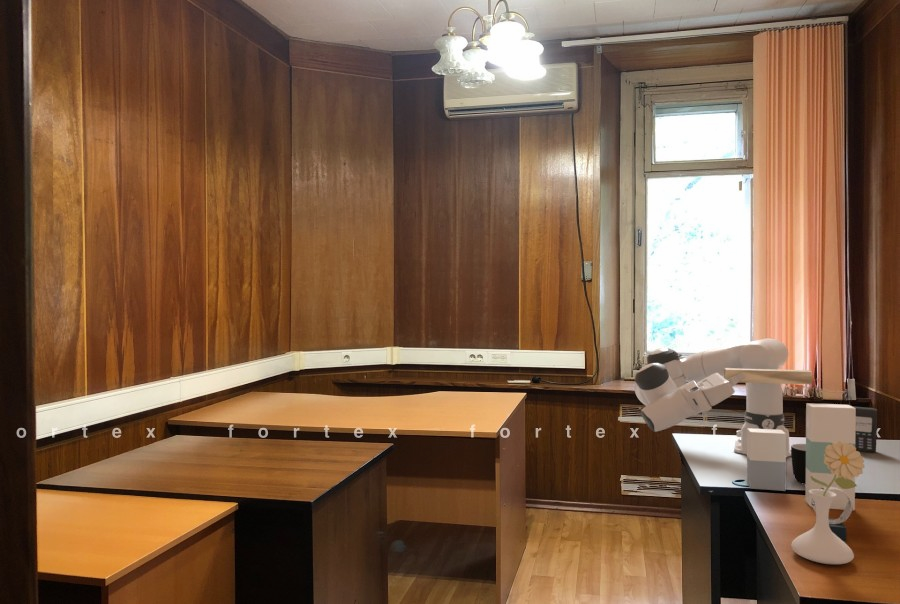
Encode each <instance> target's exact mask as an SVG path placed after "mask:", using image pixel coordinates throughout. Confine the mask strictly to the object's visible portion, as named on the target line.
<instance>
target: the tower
mask: <svg viewBox="0 0 900 604" xmlns="http://www.w3.org/2000/svg"><path fill="white" fill-rule="evenodd" d="M805 404H806V408H805V444H806V484H805V503H807V504H808V505H809V507H810V508H813V506H812V499H813V497H812V496H811V494H810V493H809V490H812V489H820V488H825V487H826V486H823V485H821V484H819V483H816V482H814V481H813V480H812V479H811V476H812V477H813V478H815V479H817V480H819V481H821V482H824V483H826V484H827V485H829V484H830V483H831V481H832V480H833V478H834V476H835V474H832V473H831V469H828V467H827V465H826V464H825V463H824V461H825V459H824V458H825V457H824V454H826V452H825V449H826V446H828V445H832V443H833V442H837V441H838V440H839V441H841V442H843V444H844V442H847V443H848V444H849V445H850V444H852V445H853V446H854V447H855V425H856V408H854V407H855V406H853V407H852V405H850V404H838V403H837V404H836V403H835V404H834V403H808V402H807V403H805ZM838 477H839V476H837V475H836V478H838ZM836 478H835V479H836ZM851 480H852V481H853V482H854V483H855V484H856V476H854V478H853V479H851ZM830 487H836V488H839V489H841V490H843V491H844V492H845V493H846V494H847V495H848V496H849V497H850V498H851V500H852V504H853V510H852V511H856V504H855V503H856V501H855V499H856V498H855V497H856V487H853V488H849V489H843V488H841V487H840V486H839V485H838V484H837V483H836V482H835V480H834V482H833V483H832V484H831V486H830ZM832 492H833V493H835V494H836V497H835V498H834V499H833V500H832V502H831V504H830V508H829V510H843V511H844V510H845V508H846V505H847V502H848V498H847V496H846V495H845V494H843V493H841V492H839V491H832Z"/></svg>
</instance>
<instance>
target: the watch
mask: <svg viewBox="0 0 900 604" xmlns="http://www.w3.org/2000/svg"><path fill="white" fill-rule="evenodd" d="M826 488H827V487H825V488H820V489H821V490H826ZM827 491H831V492H832V491H839V492H841V493H843V494H845V495H846V496H847V498H848V502H847V505H846V508H845V510H843V512H842V513H841V514H840V515H839V517H838V518H830V517H828V522H829V527H830V529H831V531H832V532H833V533H834V534H835V535H836V536H837V537H839V538H840V539H841V540H842V541H843V542H844V543H846V542H847V526H845V524H844V523H845V522H846V521H847V520H848V519H849V517H850V516H851V514H852V512H853V511H854V510H853V504H852V500H851V498H850V497H849V496H848V495H847V494H846V493H845V492H844V491H843V490H841V489H839V488H836V487H829V489H828V490H827ZM812 506H813V507H812V509H813V511H814V513H815V514H816V507H815V502H814V500H813V499H812Z"/></svg>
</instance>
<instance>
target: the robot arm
mask: <svg viewBox="0 0 900 604" xmlns="http://www.w3.org/2000/svg"><path fill="white" fill-rule="evenodd" d="M682 356H683V355H682V353H678V352H677V351H676V350H674V349H672V348H669V347H668V348H665V347H661V348H658V349H654V350H652V352H651V353H649V354H648V355H647V357H646V363H647V364H645V365H644V366H643V367H641V368H640V369H639V370H638V372H636V374H635V377H634V382H635V383H634V392H635V395H636V397H637V399H638V400H639V401H640V403H642V404H643V405H644V407H643V408H642V409H641V410H640V411H641V412H640V415H641V417H642V419H643V420H644V423H645V424H646V425H647V426H648V428H649V429H650V431H653V432H655V433H657V432H660V431H663V430H666V429H669V428H672V427H674V426H676V425H678V424H680V423H682V422H683V421H684V420H685V419H688V418H689V417H694V416H696V415H698V414H700V413H705V412H708V411H710V410H712V407H713V406H716V405H718V404H719V403H721V402H723V401H725V400H726V399H728V398H730V397H731V396H733V394H735V392H736V391H735V389H734V386H736V385H737V384H739V383H740V382H739V381H741V380H743V379H744V378H745V377H744V375H743V374H742V373H738V374H736V375H735V376H733V377H732V378H729V379H727V380H726V379H725V378H724V368H736V369H776V370H779V369H780V368H782V367H783V366H784V365H785V364H786V362H787V361H788V358H789V350H788V348H787V345H786V344H784V343H783V342H782V341H780V340H778V339H775V338H769V337H768V338H767V337H766V338H762V339H757V340H752V341H748V342H743V343H742V342H741V343H737V344H733V345H729V346H723V347H722V346H721V347H717V348H713V349H707V350H704V351H700V352H697V353H696V352H695V353H692V354H690V355H687V356H685V357H683V358H681V357H682ZM781 385H782V384H775V383H745V390H746V410H745V411H744V424H743V425H742V427H741V428H740V429H738V430H736V437H737V438H738V440H737V439H736V440H735V442H734V447H733V452H734V453H736V454H737V453H738V454H743V455H746V456H747V428H753V429H775V430H782V431H783V432H785V433H786V458H787V457H788V458H789V457H791V447H790V432H789V430H788V428H787V427H785V425H784V424H785V414H784V413H783V411H784V410H783V404H784V403H783V399H784V398H783V396H784V392H783V388H782V386H781Z"/></svg>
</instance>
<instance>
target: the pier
mask: <svg viewBox="0 0 900 604" xmlns="http://www.w3.org/2000/svg"><path fill="white" fill-rule="evenodd" d="M786 458H787V457H786V433H785V432H783V431H782V430H775V429H753V428H747V455H746V485H747V486H748V485H749V486H748V487H749V489H754V490H764V491H765V490H769V491H783V492H786V487H787V486H786V482H787V481H786V480H787V479H786V476H787V475H786V467H787V466H786V465H787V464H786V463H787V462H786V461H787V459H786Z"/></svg>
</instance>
